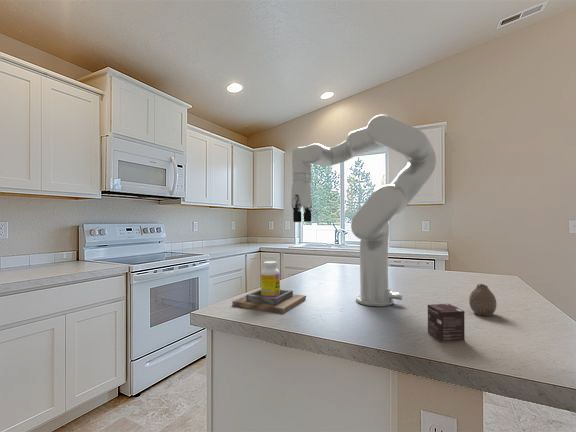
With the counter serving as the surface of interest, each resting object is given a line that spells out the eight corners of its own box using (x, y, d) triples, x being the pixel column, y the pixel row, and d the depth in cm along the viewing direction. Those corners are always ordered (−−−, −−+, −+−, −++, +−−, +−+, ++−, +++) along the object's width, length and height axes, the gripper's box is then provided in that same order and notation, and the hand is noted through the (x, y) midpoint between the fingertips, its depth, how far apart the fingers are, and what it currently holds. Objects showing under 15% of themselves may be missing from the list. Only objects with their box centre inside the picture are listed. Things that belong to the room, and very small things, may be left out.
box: (427, 333, 76) (426, 304, 76) (449, 332, 77) (449, 303, 77) (441, 343, 70) (440, 311, 70) (465, 341, 71) (465, 310, 71)
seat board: (305, 299, 109) (305, 290, 109) (283, 313, 94) (283, 302, 94) (259, 294, 118) (259, 285, 118) (232, 305, 103) (232, 295, 103)
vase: (492, 311, 92) (491, 283, 92) (500, 318, 86) (499, 288, 86) (467, 309, 95) (466, 281, 95) (472, 316, 88) (471, 286, 88)
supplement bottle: (277, 301, 102) (277, 263, 102) (258, 300, 104) (258, 263, 104) (281, 296, 109) (281, 260, 109) (264, 295, 110) (263, 260, 110)
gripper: (302, 181, 129) (303, 221, 129) (283, 177, 114) (284, 222, 114) (318, 180, 126) (319, 221, 126) (301, 175, 111) (302, 222, 110)
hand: (302, 221), depth 120 cm, fingers open, 9 cm apart
